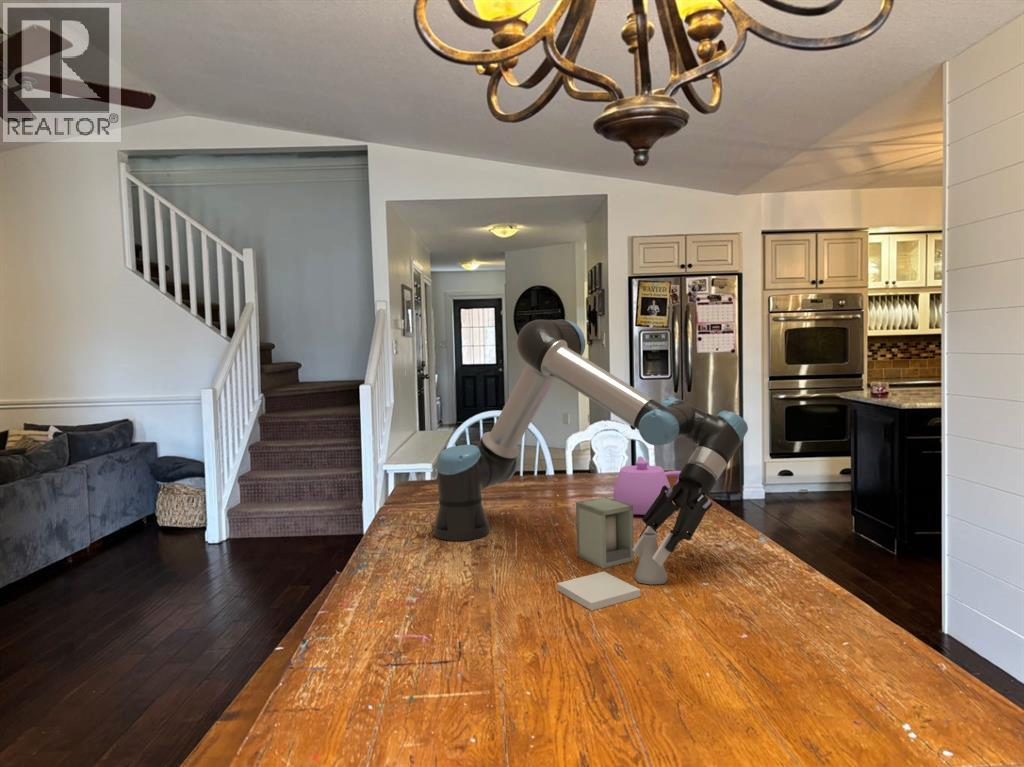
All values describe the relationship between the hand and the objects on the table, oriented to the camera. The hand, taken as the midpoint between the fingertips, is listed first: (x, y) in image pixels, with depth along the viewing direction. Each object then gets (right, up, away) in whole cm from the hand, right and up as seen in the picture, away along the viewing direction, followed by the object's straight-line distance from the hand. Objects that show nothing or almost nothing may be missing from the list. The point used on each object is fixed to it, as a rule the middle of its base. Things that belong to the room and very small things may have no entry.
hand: (646, 557), depth 135 cm
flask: (+1, -5, +1) cm, 5 cm away
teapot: (+11, -1, +55) cm, 56 cm away
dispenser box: (-7, -4, +15) cm, 17 cm away
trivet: (-11, -6, -6) cm, 14 cm away
